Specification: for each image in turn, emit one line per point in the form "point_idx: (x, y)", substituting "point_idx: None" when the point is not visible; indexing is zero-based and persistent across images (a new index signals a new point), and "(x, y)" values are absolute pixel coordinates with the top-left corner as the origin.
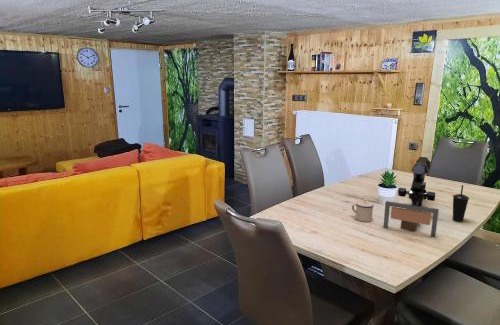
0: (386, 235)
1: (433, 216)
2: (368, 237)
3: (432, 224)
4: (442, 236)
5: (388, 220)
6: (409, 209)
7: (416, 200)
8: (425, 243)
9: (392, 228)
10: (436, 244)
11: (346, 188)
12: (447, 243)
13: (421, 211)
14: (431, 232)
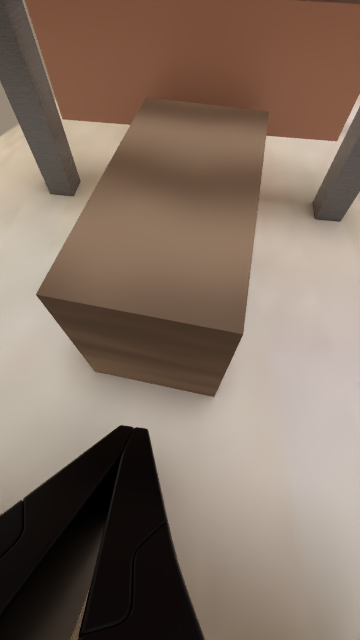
0: (293, 142)
1: (19, 2)
2: (355, 113)
3: (49, 93)
4: (9, 200)
5: (338, 168)
6: (210, 228)
7: (35, 533)
8: (121, 126)
9: (286, 212)
10: (75, 130)
11: None
12: (18, 147)
13: (53, 310)
14: (69, 154)
